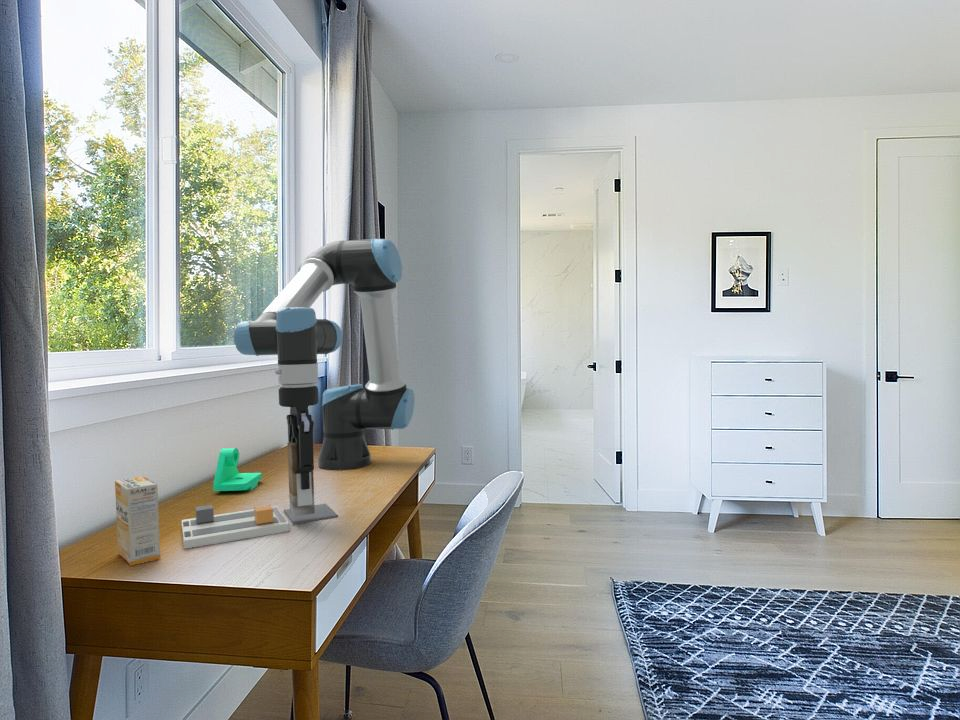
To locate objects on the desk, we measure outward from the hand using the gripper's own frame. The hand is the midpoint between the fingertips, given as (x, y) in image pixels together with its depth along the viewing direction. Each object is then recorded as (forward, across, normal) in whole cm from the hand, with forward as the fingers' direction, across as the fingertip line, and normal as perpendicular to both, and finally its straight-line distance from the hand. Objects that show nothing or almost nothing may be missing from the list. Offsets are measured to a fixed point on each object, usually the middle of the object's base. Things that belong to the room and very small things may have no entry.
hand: (302, 501), depth 117 cm
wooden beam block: (+2, 0, 0) cm, 2 cm away
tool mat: (+4, -6, +3) cm, 7 cm away
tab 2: (+3, 0, -7) cm, 8 cm away
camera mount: (+5, -38, -8) cm, 39 cm away
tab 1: (+3, -7, -17) cm, 19 cm away
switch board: (+4, -4, -12) cm, 14 cm away
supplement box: (+5, +4, -28) cm, 29 cm away
